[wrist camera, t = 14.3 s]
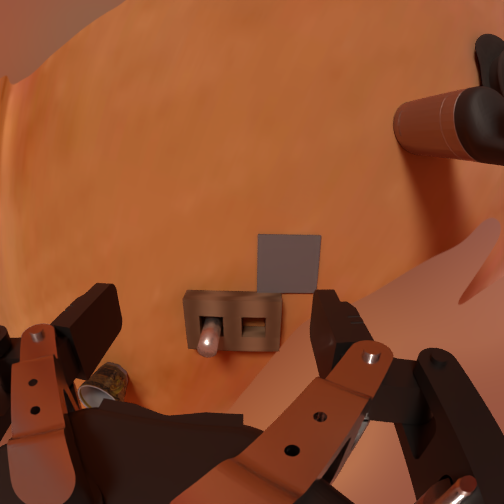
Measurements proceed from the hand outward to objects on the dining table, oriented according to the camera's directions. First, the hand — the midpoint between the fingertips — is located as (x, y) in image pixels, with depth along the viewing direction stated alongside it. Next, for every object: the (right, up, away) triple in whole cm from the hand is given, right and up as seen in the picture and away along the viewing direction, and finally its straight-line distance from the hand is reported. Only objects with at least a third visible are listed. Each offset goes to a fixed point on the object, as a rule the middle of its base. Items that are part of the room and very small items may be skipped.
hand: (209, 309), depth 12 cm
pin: (-5, -9, +41) cm, 43 cm away
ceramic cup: (-28, -24, +47) cm, 60 cm away
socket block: (-2, -9, +41) cm, 42 cm away
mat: (+8, 0, +38) cm, 39 cm away
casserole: (+53, +35, +26) cm, 68 cm away
